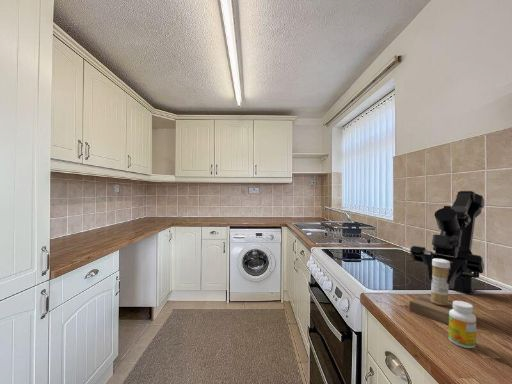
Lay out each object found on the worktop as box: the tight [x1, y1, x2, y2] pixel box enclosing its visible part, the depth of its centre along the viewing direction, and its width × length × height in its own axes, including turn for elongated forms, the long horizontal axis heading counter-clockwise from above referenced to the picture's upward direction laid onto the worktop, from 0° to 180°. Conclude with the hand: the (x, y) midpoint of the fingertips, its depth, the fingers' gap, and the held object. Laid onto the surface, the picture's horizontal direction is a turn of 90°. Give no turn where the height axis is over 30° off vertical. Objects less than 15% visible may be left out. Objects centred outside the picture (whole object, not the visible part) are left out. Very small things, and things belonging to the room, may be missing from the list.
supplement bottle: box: [448, 300, 477, 349], centre depth 66 cm, size 5×5×10 cm
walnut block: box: [409, 293, 454, 326], centre depth 81 cm, size 12×12×3 cm
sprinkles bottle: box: [430, 258, 450, 306], centre depth 82 cm, size 5×5×14 cm
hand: (439, 281), depth 81 cm, fingers closed on sprinkles bottle, 4 cm apart
